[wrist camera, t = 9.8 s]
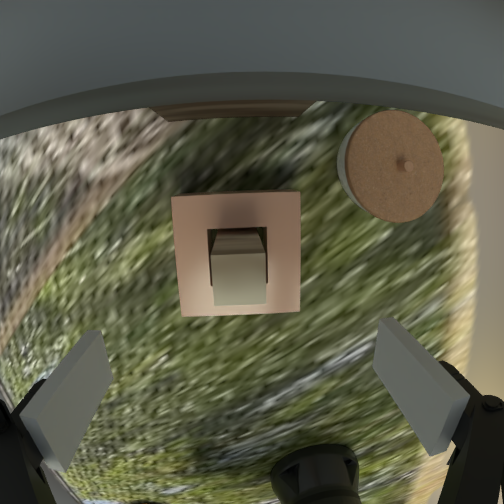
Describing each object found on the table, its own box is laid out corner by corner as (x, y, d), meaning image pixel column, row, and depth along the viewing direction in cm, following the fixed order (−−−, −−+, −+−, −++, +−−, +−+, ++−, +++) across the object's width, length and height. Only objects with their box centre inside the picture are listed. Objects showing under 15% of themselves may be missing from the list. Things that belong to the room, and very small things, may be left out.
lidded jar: (335, 222, 36) (367, 238, 27) (314, 128, 33) (340, 114, 24) (414, 202, 36) (460, 212, 27) (397, 115, 33) (441, 103, 24)
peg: (256, 262, 37) (266, 303, 25) (220, 263, 36) (214, 306, 25) (255, 226, 36) (265, 253, 24) (218, 228, 35) (210, 255, 24)
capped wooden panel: (308, 161, 34) (594, 147, 4) (160, 167, 34) (-122, 176, 3) (306, 99, 32) (520, -79, 2) (159, 105, 32) (-61, -58, 1)
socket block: (291, 294, 38) (299, 311, 33) (188, 298, 37) (181, 316, 32) (291, 189, 35) (300, 191, 30) (180, 193, 34) (171, 196, 29)
